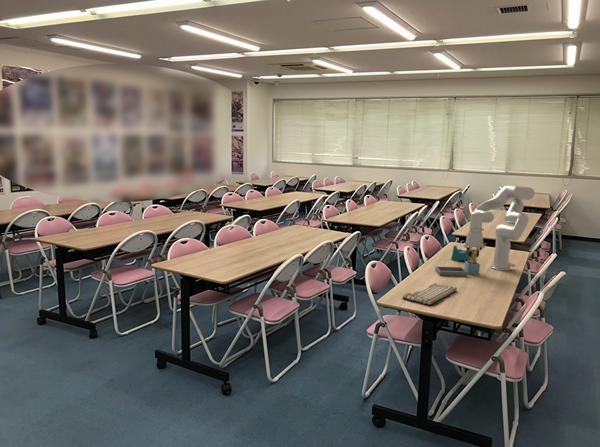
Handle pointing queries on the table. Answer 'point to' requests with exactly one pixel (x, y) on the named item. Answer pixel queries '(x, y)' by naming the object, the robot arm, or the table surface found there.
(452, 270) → the tray
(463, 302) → the table surface
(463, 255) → the teal notched holder
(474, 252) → the dowel
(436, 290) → the mechanical keyboard
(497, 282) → the table surface
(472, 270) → the blue box
